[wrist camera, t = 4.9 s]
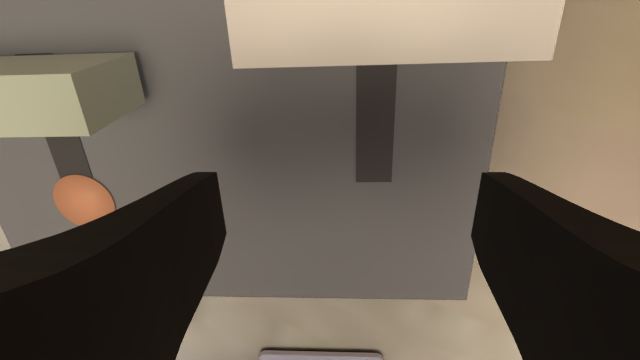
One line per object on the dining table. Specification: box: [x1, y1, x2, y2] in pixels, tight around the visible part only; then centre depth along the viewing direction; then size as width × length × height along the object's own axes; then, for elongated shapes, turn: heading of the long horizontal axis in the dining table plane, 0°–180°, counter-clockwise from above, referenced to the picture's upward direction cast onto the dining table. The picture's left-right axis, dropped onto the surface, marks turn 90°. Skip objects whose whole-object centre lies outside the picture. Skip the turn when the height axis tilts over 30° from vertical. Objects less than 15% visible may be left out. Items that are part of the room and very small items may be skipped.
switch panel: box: [0, 0, 507, 300], centre depth 19 cm, size 16×24×2 cm, turn 92°
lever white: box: [224, 0, 565, 69], centre depth 13 cm, size 2×9×4 cm, turn 92°
